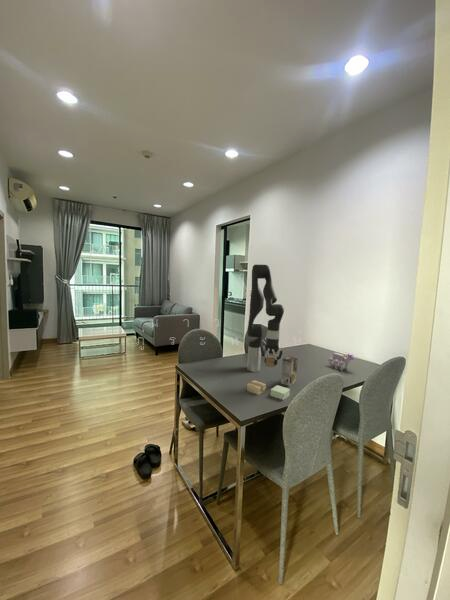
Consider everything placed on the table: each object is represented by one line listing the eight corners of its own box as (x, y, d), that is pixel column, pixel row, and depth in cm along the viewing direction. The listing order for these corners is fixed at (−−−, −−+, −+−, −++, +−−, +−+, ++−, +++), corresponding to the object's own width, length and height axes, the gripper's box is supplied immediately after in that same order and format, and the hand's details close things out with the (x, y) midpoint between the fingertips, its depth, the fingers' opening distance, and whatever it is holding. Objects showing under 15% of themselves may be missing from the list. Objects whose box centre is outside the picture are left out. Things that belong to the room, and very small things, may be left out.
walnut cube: (267, 363, 162) (268, 355, 162) (275, 364, 160) (276, 357, 160) (265, 365, 158) (266, 357, 157) (273, 367, 156) (274, 359, 155)
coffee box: (286, 379, 173) (288, 355, 172) (296, 382, 169) (298, 358, 168) (280, 383, 166) (282, 358, 165) (289, 386, 162) (291, 361, 161)
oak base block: (254, 386, 160) (254, 380, 160) (265, 390, 155) (266, 384, 155) (246, 390, 154) (247, 384, 153) (258, 395, 149) (258, 388, 148)
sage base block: (276, 391, 155) (277, 385, 154) (289, 395, 150) (290, 389, 150) (270, 396, 148) (270, 389, 148) (283, 400, 144) (284, 393, 143)
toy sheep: (359, 372, 194) (360, 354, 192) (351, 375, 188) (352, 357, 186) (334, 363, 210) (335, 347, 208) (326, 366, 204) (327, 349, 202)
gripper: (286, 337, 157) (283, 364, 159) (263, 334, 163) (261, 360, 165) (283, 340, 151) (280, 368, 153) (259, 336, 157) (257, 363, 159)
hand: (270, 364), depth 159 cm, fingers closed on walnut cube, 5 cm apart
